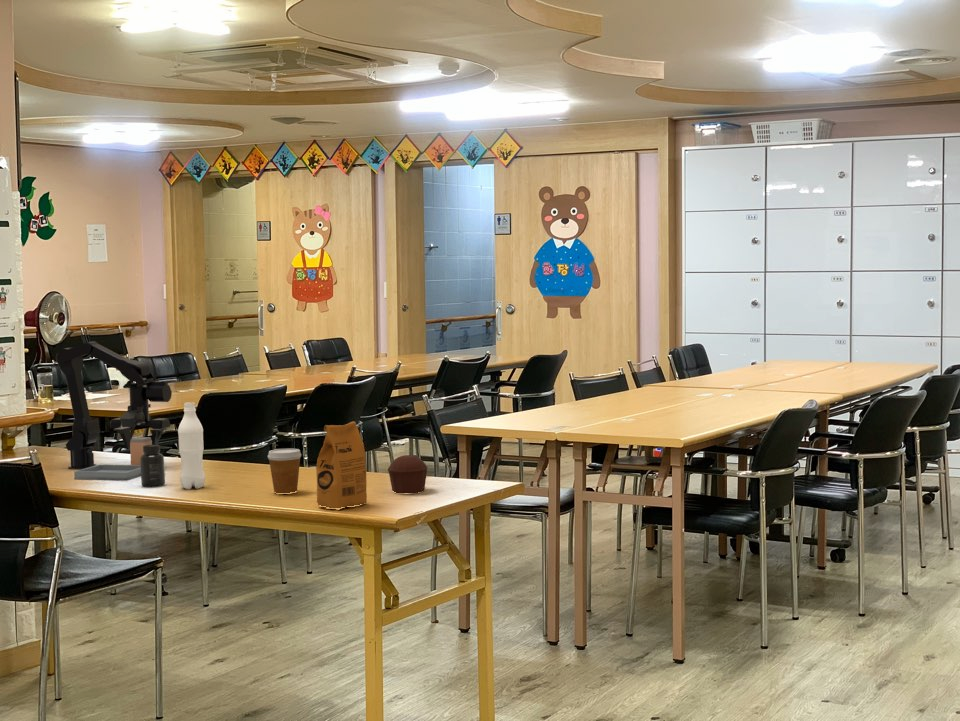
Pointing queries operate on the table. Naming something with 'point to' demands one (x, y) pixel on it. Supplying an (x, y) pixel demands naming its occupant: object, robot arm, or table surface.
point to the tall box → (138, 448)
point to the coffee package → (341, 467)
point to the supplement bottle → (152, 467)
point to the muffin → (407, 474)
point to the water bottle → (191, 448)
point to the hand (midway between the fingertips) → (141, 449)
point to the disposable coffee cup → (284, 469)
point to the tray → (109, 472)
